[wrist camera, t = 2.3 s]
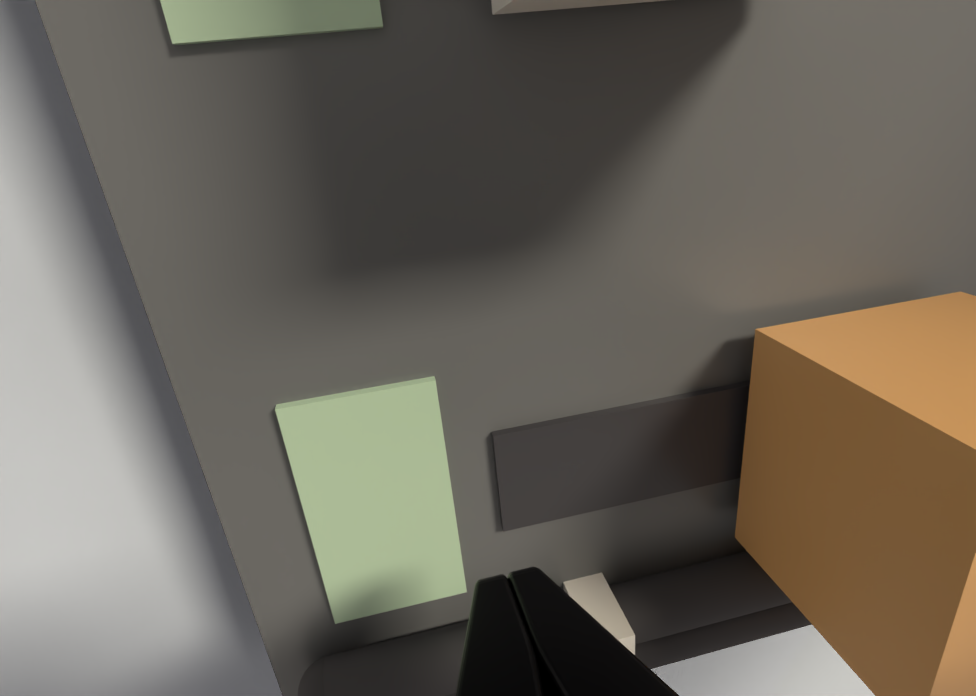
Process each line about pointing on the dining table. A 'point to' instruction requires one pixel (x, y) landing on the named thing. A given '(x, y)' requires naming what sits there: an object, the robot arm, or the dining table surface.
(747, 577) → the cord bundle
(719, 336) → the breaker panel
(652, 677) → the robot arm
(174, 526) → the dining table surface
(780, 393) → the block
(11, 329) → the dining table surface
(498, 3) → the block
